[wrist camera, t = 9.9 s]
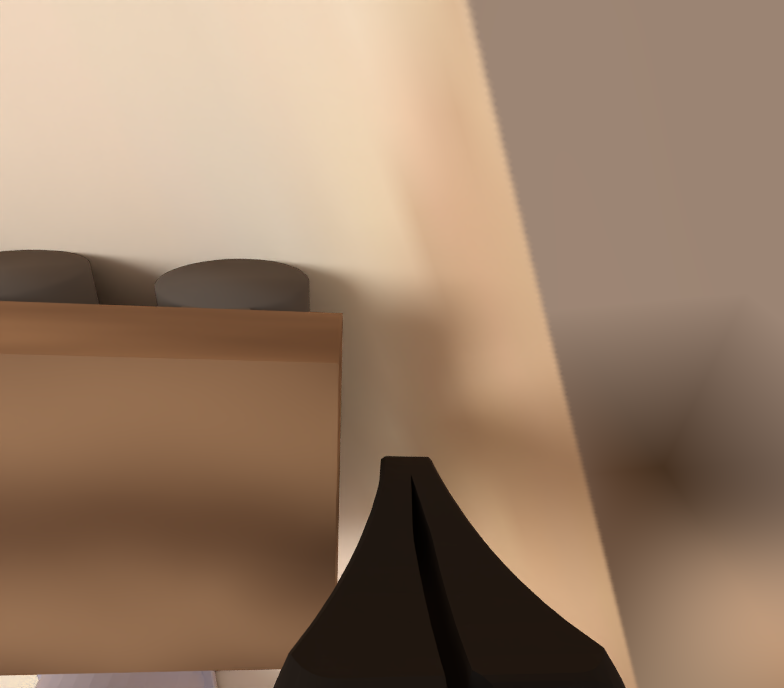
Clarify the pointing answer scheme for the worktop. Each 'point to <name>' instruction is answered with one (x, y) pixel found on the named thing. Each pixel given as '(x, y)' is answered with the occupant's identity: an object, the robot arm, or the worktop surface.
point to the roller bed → (158, 282)
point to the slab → (165, 485)
